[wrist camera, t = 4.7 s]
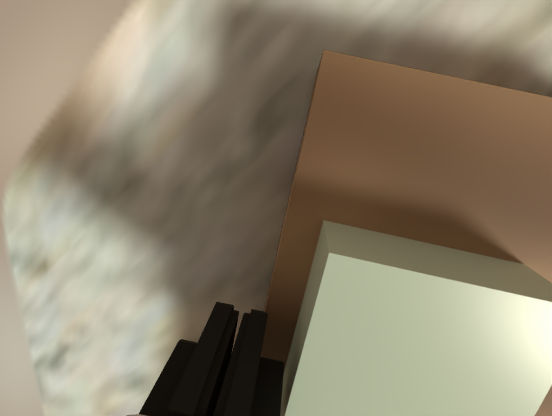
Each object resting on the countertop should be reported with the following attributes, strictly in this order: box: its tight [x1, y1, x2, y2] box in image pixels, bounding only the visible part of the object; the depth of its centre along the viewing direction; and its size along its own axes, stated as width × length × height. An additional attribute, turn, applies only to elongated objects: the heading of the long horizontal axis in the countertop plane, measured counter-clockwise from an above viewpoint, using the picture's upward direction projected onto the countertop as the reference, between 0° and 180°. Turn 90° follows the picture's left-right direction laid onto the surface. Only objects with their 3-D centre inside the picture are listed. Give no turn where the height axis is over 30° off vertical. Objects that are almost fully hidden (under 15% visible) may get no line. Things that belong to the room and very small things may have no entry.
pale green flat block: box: [280, 220, 552, 416], centre depth 10 cm, size 9×6×2 cm, turn 168°
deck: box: [261, 50, 552, 416], centre depth 13 cm, size 18×11×4 cm, turn 169°
